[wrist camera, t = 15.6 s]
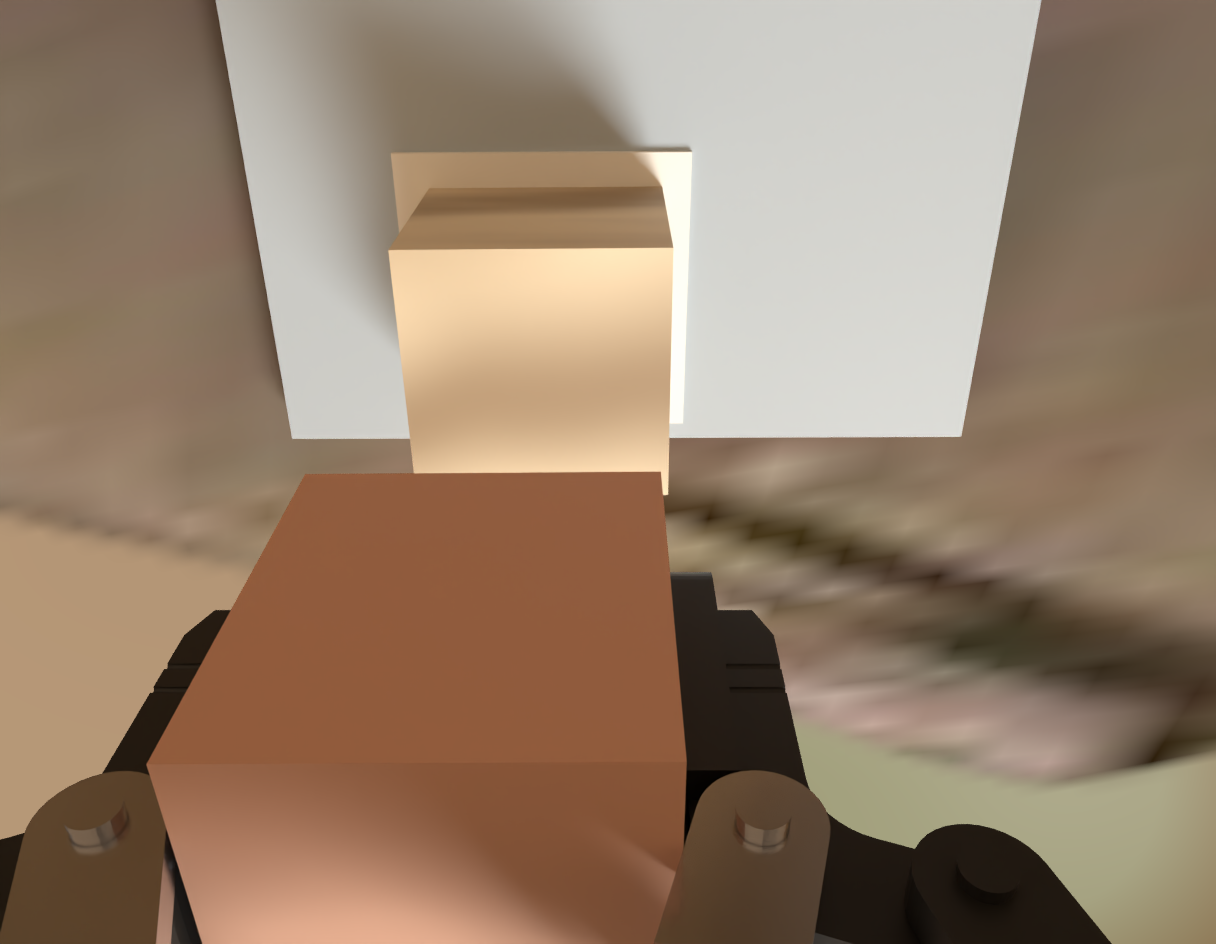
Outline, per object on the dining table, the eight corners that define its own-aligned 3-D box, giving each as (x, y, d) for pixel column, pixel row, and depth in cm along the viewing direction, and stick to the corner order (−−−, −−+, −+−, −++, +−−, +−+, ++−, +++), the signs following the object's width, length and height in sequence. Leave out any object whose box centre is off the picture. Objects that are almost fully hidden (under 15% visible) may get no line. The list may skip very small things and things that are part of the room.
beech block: (429, 188, 24) (388, 249, 20) (661, 186, 24) (673, 247, 19) (449, 400, 27) (416, 496, 22) (658, 398, 27) (667, 494, 22)
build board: (223, -67, 23) (201, -65, 21) (1033, -71, 22) (1056, -70, 21) (304, 419, 28) (290, 441, 27) (947, 417, 28) (962, 439, 27)
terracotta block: (305, 474, 13) (146, 763, 8) (661, 471, 13) (687, 761, 8) (352, 740, 15) (245, 1080, 11) (656, 738, 15) (674, 1079, 11)
